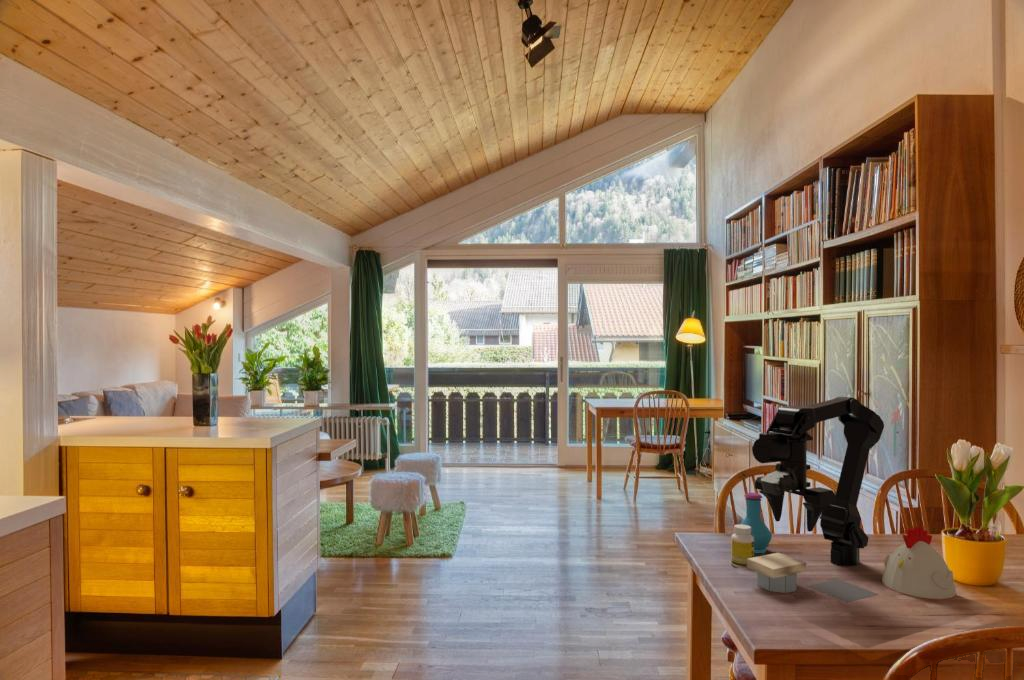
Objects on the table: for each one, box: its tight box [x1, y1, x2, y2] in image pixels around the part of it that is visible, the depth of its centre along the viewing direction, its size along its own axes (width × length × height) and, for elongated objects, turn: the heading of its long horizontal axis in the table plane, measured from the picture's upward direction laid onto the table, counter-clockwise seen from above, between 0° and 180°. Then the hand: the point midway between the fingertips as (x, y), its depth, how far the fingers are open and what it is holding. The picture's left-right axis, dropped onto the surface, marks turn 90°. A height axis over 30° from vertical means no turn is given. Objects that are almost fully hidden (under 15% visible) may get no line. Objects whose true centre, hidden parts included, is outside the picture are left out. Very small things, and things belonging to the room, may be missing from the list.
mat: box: [806, 578, 879, 603], centre depth 139 cm, size 10×10×2 cm
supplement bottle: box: [730, 523, 755, 569], centre depth 159 cm, size 5×5×10 cm
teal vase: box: [740, 492, 772, 554], centre depth 171 cm, size 9×9×15 cm
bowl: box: [756, 572, 797, 594], centre depth 142 cm, size 8×8×5 cm
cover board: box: [746, 552, 807, 579], centre depth 142 cm, size 10×8×2 cm
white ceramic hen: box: [881, 525, 957, 601], centre depth 141 cm, size 14×14×15 cm
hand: (793, 526), depth 149 cm, fingers open, 9 cm apart
